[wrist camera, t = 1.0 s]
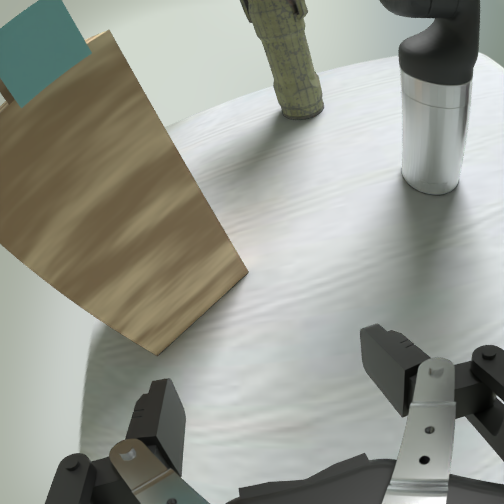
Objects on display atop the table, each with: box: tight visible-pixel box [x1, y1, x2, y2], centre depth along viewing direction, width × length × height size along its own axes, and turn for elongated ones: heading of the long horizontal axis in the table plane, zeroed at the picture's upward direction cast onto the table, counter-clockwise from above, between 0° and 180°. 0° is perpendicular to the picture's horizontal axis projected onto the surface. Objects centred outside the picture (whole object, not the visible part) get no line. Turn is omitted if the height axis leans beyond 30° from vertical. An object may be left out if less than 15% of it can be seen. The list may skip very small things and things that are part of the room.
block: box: [0, 0, 92, 108], centre depth 15 cm, size 24×4×4 cm, turn 41°
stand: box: [0, 30, 248, 356], centre depth 29 cm, size 12×16×35 cm
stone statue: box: [240, 0, 324, 120], centre depth 46 cm, size 9×12×35 cm
